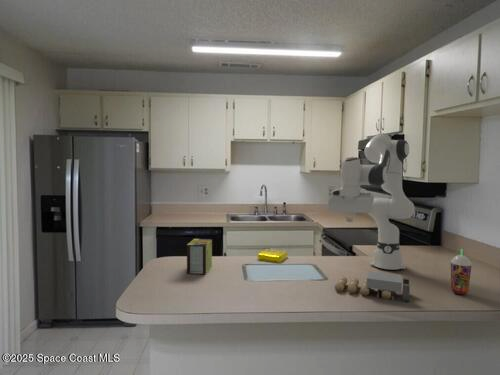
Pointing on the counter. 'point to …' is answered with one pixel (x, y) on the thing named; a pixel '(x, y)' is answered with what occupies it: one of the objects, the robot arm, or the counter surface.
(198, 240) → the protein box
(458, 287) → the smoothie
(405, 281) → the posts
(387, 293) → the roller
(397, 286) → the slab
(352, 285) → the roller bed
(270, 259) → the element tile
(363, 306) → the counter surface
